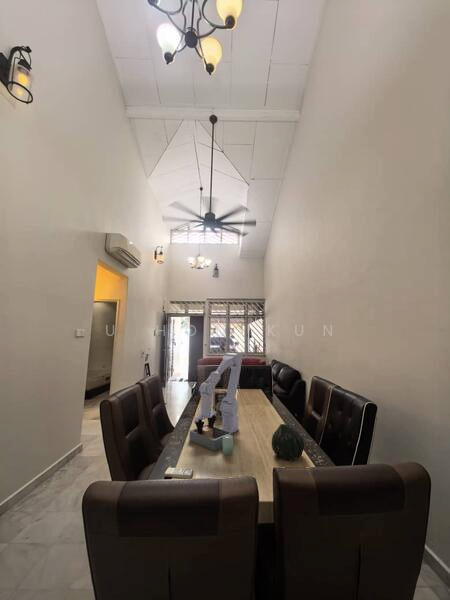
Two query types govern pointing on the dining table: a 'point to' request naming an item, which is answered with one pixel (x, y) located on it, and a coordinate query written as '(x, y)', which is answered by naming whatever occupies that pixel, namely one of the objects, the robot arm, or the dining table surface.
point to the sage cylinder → (227, 445)
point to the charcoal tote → (207, 442)
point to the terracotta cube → (207, 432)
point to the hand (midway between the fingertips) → (205, 432)
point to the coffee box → (218, 402)
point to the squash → (287, 443)
